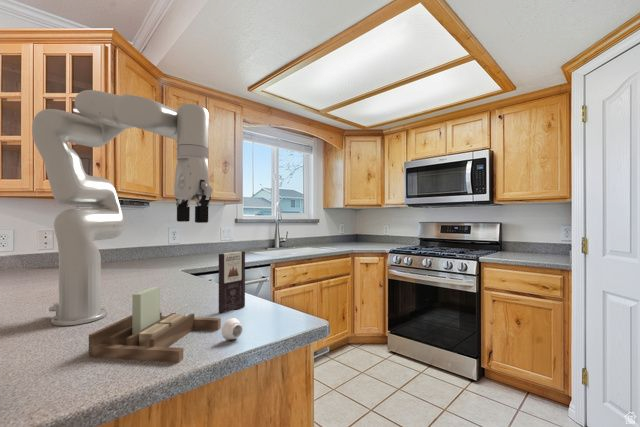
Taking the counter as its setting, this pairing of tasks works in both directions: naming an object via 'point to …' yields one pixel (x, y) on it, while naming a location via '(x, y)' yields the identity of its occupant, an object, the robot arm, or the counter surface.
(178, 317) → the offcut
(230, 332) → the white jar
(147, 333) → the offcut
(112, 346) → the rack
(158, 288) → the sage green slab
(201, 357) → the counter surface
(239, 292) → the chocolate bar
